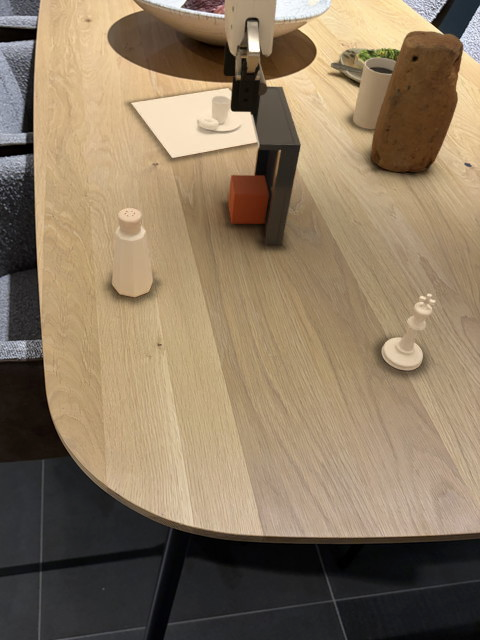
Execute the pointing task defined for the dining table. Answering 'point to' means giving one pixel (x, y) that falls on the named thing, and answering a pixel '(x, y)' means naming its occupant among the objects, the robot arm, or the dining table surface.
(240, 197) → the terracotta block
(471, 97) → the dining table surface
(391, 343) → the chess piece
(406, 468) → the dining table surface
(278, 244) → the tipping dish
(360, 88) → the white cup
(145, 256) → the pepper shaker
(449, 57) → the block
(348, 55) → the salad plate
